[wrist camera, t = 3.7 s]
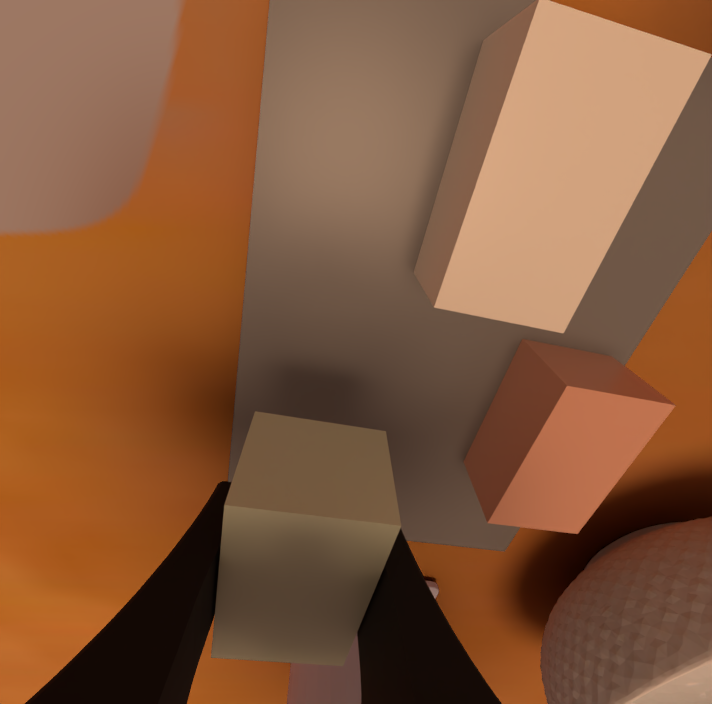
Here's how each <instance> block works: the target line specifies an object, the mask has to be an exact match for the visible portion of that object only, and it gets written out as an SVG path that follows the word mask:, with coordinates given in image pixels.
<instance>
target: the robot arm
mask: <svg viewBox="0 0 712 704" xmlns="http://www.w3.org/2000/svg"><path fill="white" fill-rule="evenodd" d="M231 483H232V482H226V481H222V482H220V483H218V485H217V487H216V489H215V490H214V492H213V494H212V495H211V497H210V499H209V500H208V502H207V503H206V505H205V506H204V508H203V509H202V511H201V512H200V514H199V515H198V517H197V518H196V519H195V521H194V522H193V524H192V525H191V526H190V528H189V529H188V530H187V532H186V533H185V534H184V536H183V537H182V538H181V540H180V541H179V542H178V543H177V545H176V546H175V547H174V549H173V550H172V551H171V552H170V554H169V555H168V556H167V557H166V559H165V560H164V561H163V562H162V563H161V565H160V566H159V567H158V568H157V569H156V571H155V572H154V573H153V574H152V575H151V576H150V578H149V579H148V580H147V581H146V582H145V584H144V585H143V586H142V587H141V588H140V589H139V590H138V592H137V593H136V594H135V595H134V596H133V597H132V598H131V599H130V600H129V602H128V603H127V604H126V605H125V606H124V607H123V608H122V609H121V610H120V611H119V612H118V613H117V614H116V616H115V617H114V618H113V619H112V620H111V621H110V622H109V623H108V624H107V625H106V626H105V627H104V628H103V629H102V630H101V631H100V632H99V633H98V634H97V635H96V636H95V637H94V638H93V639H92V640H91V641H90V642H89V643H88V644H87V645H86V646H85V647H84V648H83V649H82V650H81V651H80V652H79V653H78V654H77V655H76V656H75V657H74V658H73V659H72V660H71V661H70V662H69V663H68V664H67V665H66V666H65V667H64V668H63V669H62V670H61V671H60V672H59V673H58V674H57V675H56V676H54V677H53V678H52V679H51V680H50V681H49V682H48V683H47V684H46V685H45V686H44V687H43V688H41V689H40V690H39V691H38V692H37V693H36V694H35V695H34V696H33V697H32V698H30V699H29V700H28V701H27V702H26V703H25V704H187V700H188V696H189V693H190V689H191V685H192V682H193V678H194V675H195V672H196V668H197V665H198V662H199V659H200V656H201V653H202V650H203V647H204V644H205V641H206V638H207V635H208V632H209V630H210V627H211V624H212V621H213V618H214V615H215V607H216V595H217V583H218V572H219V560H220V549H221V537H222V525H223V514H224V504H225V501H226V498H227V495H228V492H229V489H230V486H231ZM438 593H439V589H438V585H437V583H435V582H433V581H425V579H424V577H423V575H422V573H421V571H420V569H419V567H418V565H417V563H416V561H415V558H414V556H413V554H412V552H411V550H410V548H409V545H408V543H407V541H406V539H405V537H404V534H403V532H402V530H401V528H400V530H399V533H398V535H397V537H396V540H395V542H394V545H393V547H392V549H391V552H390V554H389V557H388V559H387V561H386V564H385V566H384V569H383V571H382V574H381V576H380V578H379V581H378V583H377V586H376V588H375V590H374V593H373V595H372V598H371V600H370V602H369V605H368V607H367V610H366V612H365V614H364V617H363V619H362V622H361V624H360V627H359V629H358V631H357V634H356V636H355V639H354V641H353V643H352V646H351V648H350V651H349V653H348V655H347V658H346V660H345V663H344V665H343V666H332V665H317V664H301V663H291V666H290V676H289V687H288V697H287V704H501V702H500V701H499V699H498V698H497V697H496V695H495V694H494V693H493V691H492V690H491V688H490V687H489V686H488V684H487V683H486V681H485V680H484V678H483V677H482V675H481V674H480V672H479V671H478V669H477V668H476V666H475V665H474V663H473V662H472V660H471V659H470V657H469V656H468V654H467V652H466V651H465V649H464V648H463V646H462V644H461V643H460V641H459V640H458V638H457V636H456V635H455V633H454V631H453V630H452V628H451V626H450V625H449V623H448V621H447V619H446V618H445V616H444V614H443V612H442V611H441V609H440V607H439V605H438V603H437V602H436V600H435V598H436V597H437V595H438Z"/></svg>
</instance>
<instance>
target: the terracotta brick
mask: <svg viewBox="0 0 712 704" xmlns="http://www.w3.org/2000/svg"><path fill="white" fill-rule="evenodd" d="M675 406H676V405H675V404H673V403H672V402H671V401H670V400H668V399H667V398H666V397H664V396H663V395H662V394H660V393H659V392H658V391H656V390H655V389H654V388H653V387H651V386H650V385H649V384H647V383H646V382H645V381H643V380H642V379H641V378H640V377H638V376H637V375H636V374H634V373H633V372H632V371H630V370H629V369H628V368H626V367H625V366H624V365H623V364H621V363H620V362H619V361H617V360H616V359H615V358H613V357H612V356H608V355H603V354H598V353H592V352H587V351H582V350H577V349H572V348H567V347H562V346H557V345H552V344H546V343H541V342H536V341H531V340H526V339H522V341H521V343H520V345H519V347H518V349H517V351H516V353H515V355H514V357H513V359H512V361H511V363H510V366H509V368H508V370H507V372H506V374H505V376H504V378H503V380H502V382H501V384H500V386H499V389H498V391H497V393H496V395H495V397H494V399H493V401H492V403H491V405H490V407H489V409H488V412H487V414H486V416H485V418H484V420H483V422H482V424H481V426H480V428H479V430H478V432H477V434H476V437H475V439H474V441H473V443H472V445H471V447H470V449H469V451H468V453H467V455H466V457H465V460H464V464H465V467H466V470H467V472H468V475H469V477H470V480H471V482H472V485H473V487H474V490H475V493H476V495H477V498H478V500H479V503H480V505H481V508H482V510H483V513H484V515H485V518H486V521H487V523H490V524H499V525H507V526H515V527H523V528H532V529H540V530H548V531H556V532H565V533H573V534H578V533H579V531H580V530H581V529H582V528H583V526H584V525H585V524H586V522H587V521H588V520H589V518H590V517H591V516H592V514H593V513H594V512H595V511H596V509H597V508H598V507H599V505H600V504H601V503H602V501H603V500H604V499H605V497H606V496H607V495H608V493H609V492H610V491H611V490H612V488H613V487H614V486H615V484H616V483H617V482H618V480H619V479H620V478H621V476H622V475H623V474H624V473H625V471H626V470H627V469H628V467H629V466H630V465H631V463H632V462H633V461H634V459H635V458H636V457H637V455H638V454H639V453H640V452H641V450H642V449H643V448H644V446H645V445H646V444H647V442H648V441H649V440H650V438H651V437H652V436H653V435H654V433H655V432H656V431H657V429H658V428H659V427H660V425H661V424H662V423H663V421H664V420H665V419H666V417H667V416H668V415H669V414H670V412H671V411H672V410H673V408H674V407H675Z"/></svg>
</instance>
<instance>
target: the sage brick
mask: <svg viewBox="0 0 712 704" xmlns="http://www.w3.org/2000/svg"><path fill="white" fill-rule="evenodd" d="M400 528H401V521H400V515H399V509H398V503H397V497H396V490H395V484H394V478H393V472H392V466H391V459H390V453H389V447H388V441H387V435H386V431H381V430H375V429H368V428H362V427H355V426H349V425H342V424H335V423H329V422H322V421H316V420H309V419H303V418H296V417H290V416H283V415H276V414H270V413H263V412H257V411H255V413H254V416H253V419H252V422H251V425H250V428H249V431H248V434H247V437H246V440H245V443H244V447H243V450H242V453H241V456H240V459H239V462H238V465H237V468H236V471H235V474H234V477H233V480H232V483H231V486H230V489H229V492H228V495H227V498H226V501H225V504H224V514H223V525H222V537H221V549H220V560H219V572H218V583H217V595H216V607H215V618H214V630H213V642H212V653H211V658H225V659H240V660H255V661H271V662H286V663H301V664H317V665H332V666H343V665H344V663H345V660H346V658H347V655H348V653H349V651H350V648H351V646H352V643H353V641H354V639H355V636H356V634H357V631H358V629H359V627H360V624H361V622H362V619H363V617H364V614H365V612H366V610H367V607H368V605H369V602H370V600H371V598H372V595H373V593H374V590H375V588H376V586H377V583H378V581H379V578H380V576H381V574H382V571H383V569H384V566H385V564H386V561H387V559H388V557H389V554H390V552H391V549H392V547H393V545H394V542H395V540H396V537H397V535H398V533H399V530H400Z"/></svg>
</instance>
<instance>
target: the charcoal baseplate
mask: <svg viewBox="0 0 712 704" xmlns="http://www.w3.org/2000/svg"><path fill="white" fill-rule="evenodd" d="M534 1H536V0H270V3H269V14H268V26H267V37H266V49H265V60H264V72H263V83H262V95H261V106H260V118H259V129H258V141H257V152H256V164H255V175H254V187H253V198H252V210H251V221H250V233H249V244H248V256H247V267H246V279H245V290H244V302H243V313H242V325H241V336H240V348H239V359H238V371H237V382H236V394H235V405H234V417H233V428H232V440H231V451H230V463H229V474H228V482H232V480H233V477H234V474H235V471H236V468H237V465H238V462H239V459H240V456H241V453H242V450H243V447H244V443H245V440H246V437H247V434H248V431H249V428H250V425H251V422H252V419H253V416H254V413H255V411H257V412H263V413H270V414H276V415H283V416H290V417H296V418H303V419H309V420H316V421H322V422H329V423H335V424H342V425H349V426H355V427H362V428H368V429H375V430H381V431H386V435H387V441H388V447H389V453H390V459H391V466H392V472H393V478H394V484H395V490H396V497H397V503H398V509H399V515H400V521H401V530H402V532H403V534H404V537H405V539H406V541H415V542H424V543H433V544H442V545H451V546H460V547H469V548H478V549H487V550H496V551H505V550H506V549H507V547H508V546H509V544H510V542H511V541H512V539H513V538H514V536H515V535H516V533H517V532H518V530H519V529H520V527H515V526H507V525H499V524H490V523H487V521H486V518H485V515H484V513H483V510H482V508H481V505H480V503H479V500H478V498H477V495H476V493H475V490H474V487H473V485H472V482H471V480H470V477H469V475H468V472H467V470H466V467H465V464H464V460H465V457H466V455H467V453H468V451H469V449H470V447H471V445H472V443H473V441H474V439H475V437H476V434H477V432H478V430H479V428H480V426H481V424H482V422H483V420H484V418H485V416H486V414H487V412H488V409H489V407H490V405H491V403H492V401H493V399H494V397H495V395H496V393H497V391H498V389H499V386H500V384H501V382H502V380H503V378H504V376H505V374H506V372H507V370H508V368H509V366H510V363H511V361H512V359H513V357H514V355H515V353H516V351H517V349H518V347H519V345H520V343H521V341H522V339H526V340H531V341H536V342H541V343H546V344H552V345H557V346H562V347H567V348H572V349H577V350H582V351H587V352H592V353H598V354H603V355H608V356H612V357H613V358H615V359H616V360H617V361H619V362H620V363H621V364H623V365H624V366H625V364H626V363H627V361H628V360H629V358H630V357H631V355H632V353H633V352H634V350H635V349H636V347H637V346H638V344H639V343H640V341H641V340H642V338H643V336H644V335H645V333H646V332H647V330H648V329H649V327H650V326H651V324H652V322H653V321H654V319H655V318H656V316H657V315H658V313H659V312H660V310H661V309H662V307H663V305H664V304H665V302H666V301H667V299H668V298H669V296H670V295H671V293H672V291H673V290H674V288H675V287H676V285H677V284H678V282H679V281H680V279H681V278H682V276H683V274H684V273H685V271H686V270H687V268H688V267H689V265H690V264H691V262H692V260H693V259H694V257H695V256H696V254H697V253H698V251H699V250H700V248H701V247H702V245H703V243H704V242H705V240H706V239H707V237H708V236H709V234H710V233H711V231H712V58H711V57H710V59H709V61H708V63H707V65H706V67H705V69H704V70H703V72H702V74H701V76H700V78H699V80H698V82H697V84H696V85H695V87H694V89H693V91H692V93H691V95H690V97H689V99H688V100H687V102H686V104H685V106H684V108H683V110H682V112H681V114H680V116H679V117H678V119H677V121H676V123H675V125H674V127H673V129H672V131H671V132H670V134H669V136H668V138H667V140H666V142H665V144H664V146H663V147H662V149H661V151H660V153H659V155H658V157H657V159H656V161H655V162H654V164H653V166H652V168H651V170H650V172H649V174H648V176H647V177H646V179H645V181H644V183H643V185H642V187H641V189H640V191H639V193H638V194H637V196H636V198H635V200H634V202H633V204H632V206H631V208H630V209H629V211H628V213H627V215H626V217H625V219H624V221H623V223H622V224H621V226H620V228H619V230H618V232H617V234H616V236H615V238H614V239H613V241H612V243H611V245H610V247H609V249H608V251H607V253H606V255H605V256H604V258H603V260H602V262H601V264H600V266H599V268H598V270H597V271H596V273H595V275H594V277H593V279H592V281H591V283H590V285H589V286H588V288H587V290H586V292H585V294H584V296H583V298H582V300H581V301H580V303H579V305H578V307H577V309H576V311H575V313H574V315H573V316H572V318H571V320H570V322H569V324H568V326H567V328H566V330H565V332H564V333H559V332H554V331H549V330H544V329H539V328H534V327H529V326H524V325H519V324H514V323H509V322H504V321H499V320H494V319H489V318H484V317H479V316H474V315H469V314H464V313H459V312H454V311H449V310H444V309H439V308H434V307H433V305H432V303H431V301H430V300H429V298H428V296H427V295H426V293H425V291H424V290H423V288H422V286H421V284H420V283H419V281H418V279H417V278H416V276H415V274H414V269H415V266H416V263H417V259H418V256H419V253H420V249H421V246H422V243H423V239H424V236H425V233H426V229H427V226H428V223H429V219H430V216H431V213H432V209H433V206H434V203H435V199H436V196H437V193H438V189H439V186H440V183H441V179H442V176H443V173H444V169H445V166H446V163H447V159H448V156H449V153H450V149H451V146H452V143H453V139H454V136H455V133H456V129H457V126H458V123H459V119H460V116H461V113H462V109H463V106H464V103H465V99H466V96H467V93H468V89H469V86H470V83H471V79H472V76H473V73H474V69H475V66H476V63H477V59H478V56H479V53H480V49H481V46H482V43H483V40H484V39H485V38H487V37H488V36H489V35H491V34H492V33H493V32H495V31H496V30H497V29H499V28H500V27H501V26H503V25H504V24H505V23H507V22H508V21H509V20H511V19H512V18H513V17H515V16H516V15H517V14H519V13H520V12H521V11H523V10H524V9H525V8H527V7H528V6H529V5H530V4H532V3H533V2H534Z"/></svg>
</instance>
